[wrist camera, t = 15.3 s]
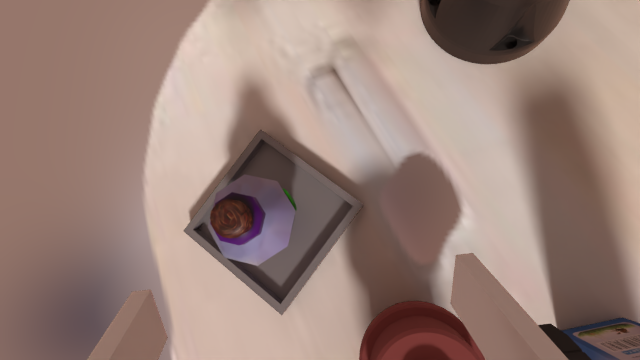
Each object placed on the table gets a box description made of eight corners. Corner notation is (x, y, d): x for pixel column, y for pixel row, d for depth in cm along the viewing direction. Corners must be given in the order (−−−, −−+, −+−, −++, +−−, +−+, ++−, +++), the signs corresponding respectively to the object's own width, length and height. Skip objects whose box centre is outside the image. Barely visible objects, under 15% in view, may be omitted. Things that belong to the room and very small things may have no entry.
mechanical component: (375, 395, 33) (348, 298, 35) (470, 373, 32) (438, 275, 34) (384, 495, 21) (342, 339, 22) (537, 464, 20) (482, 304, 22)
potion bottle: (323, 210, 36) (305, 203, 24) (279, 273, 35) (239, 299, 24) (263, 168, 37) (218, 143, 25) (221, 229, 37) (155, 232, 25)
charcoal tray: (265, 133, 38) (260, 129, 37) (363, 205, 36) (363, 204, 34) (191, 230, 38) (183, 230, 36) (285, 310, 35) (281, 315, 33)
